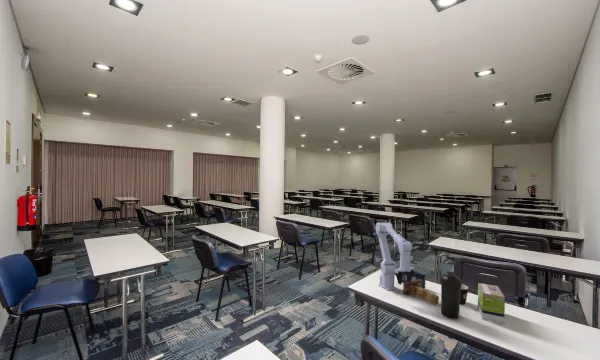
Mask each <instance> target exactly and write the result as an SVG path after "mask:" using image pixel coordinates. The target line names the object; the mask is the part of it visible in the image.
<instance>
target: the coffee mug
mask: <svg viewBox="0 0 600 360" xmlns="http://www.w3.org/2000/svg"><path fill="white" fill-rule="evenodd" d="M468 292H469V286H467V285H466V284H464V283H462V286H461V294H460V306H465V305H466V303H467V297H468Z"/></svg>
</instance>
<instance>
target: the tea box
mask: <svg viewBox="0 0 600 360" xmlns="http://www.w3.org/2000/svg"><path fill="white" fill-rule="evenodd" d="M503 293H504V292H502V290H501V289H500V287H499V286H498V285H495V284H494V285H493V284H489V283H488V284H487V283H480V282H478V283H477V309H478V311H479V314H480V317H481V319H482V320H485V321H489V322H494V323H497V324H505V309H506V308H505V307H506V306H505V305H506V304H505V303H506V297H505V295H504V294H503Z"/></svg>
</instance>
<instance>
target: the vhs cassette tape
mask: <svg viewBox="0 0 600 360" xmlns="http://www.w3.org/2000/svg"><path fill="white" fill-rule="evenodd" d="M413 271H414V272H415V273H414V275H413V276H412V279H411V281H415V280H419V279H420V280H422V284H421V285H422V286H423V289H425V290H426V277H427V276H426V274H425V273H421V272H419V271H415V270H413ZM401 273H402V274H403V278H402V284H403V283H406V282H407V274H406V271H405V272H401Z"/></svg>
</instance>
